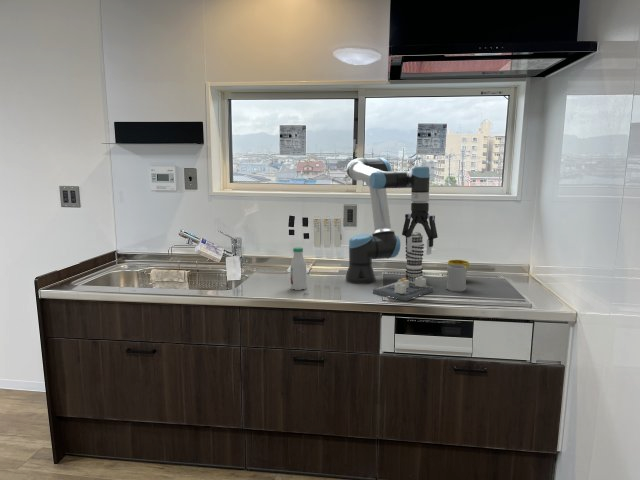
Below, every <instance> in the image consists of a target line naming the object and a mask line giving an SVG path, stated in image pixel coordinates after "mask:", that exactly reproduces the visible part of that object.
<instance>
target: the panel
mask: <svg viewBox="0 0 640 480" xmlns="http://www.w3.org/2000/svg"><path fill="white" fill-rule="evenodd" d="M397 283H398V281H396V282H393V283H390V284H386V285H383V286H379V287H377V288H374V289H372V294H374V295H378V296H381V297H386V296H390V297H394V298H397V299H396V300H399V301H405V302H407V301H410V300H412V299H411V298H413V297H416V296H419V295H421V296H423V295H422V294H424V295H426V293H427V294H430V293H432V292H434V286H430V285H426V286H424V287H419V286H415V283H410V282H409V288H406V293H404V294H400V293H395V284H397ZM429 292H430V293H429ZM390 297H389V298H390ZM419 297H420V296H419ZM394 298H393V299H394ZM416 298H417V297H416ZM413 299H414V298H413Z"/></svg>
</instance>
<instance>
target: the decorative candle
mask: <svg viewBox="0 0 640 480" xmlns="http://www.w3.org/2000/svg"><path fill="white" fill-rule="evenodd" d="M410 237H412V251H411V252H407V244H406V243H405V253H406V254H405V259H406V266H405V273H406V274H405V278H406V280H409V282H410V283H415V278H418V277H420V276H423V277H424V275H423V270H424V268H423V260H424V258H423V256H424V249H425V247H424V246H425V244H424V243H423V237H424V236H423V235H422V233H421V232H418V231H415V232H414V231H413V232H412V234H411V236H410Z"/></svg>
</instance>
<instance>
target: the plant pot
mask: <svg viewBox="0 0 640 480" xmlns="http://www.w3.org/2000/svg"><path fill="white" fill-rule="evenodd" d="M449 265H463V266H466V274H467V273H468V270H469V268H470V261H468V260H464V259H450V260H447V267H448V266H449Z"/></svg>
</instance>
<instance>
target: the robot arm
mask: <svg viewBox="0 0 640 480" xmlns="http://www.w3.org/2000/svg"><path fill="white" fill-rule="evenodd" d="M346 174H347V176H348V177H349V178H350V179H351V180H353V181H362V182H365V184H366V185H365V186H368V187H369V194H370V202H371V211H372V218H373V219H372V220H373V228H374V230H373V233H372V234H370V233H369V234H368V233H365V234H364V233H363V234H356V235H353V236H351V237H350V238H349V240H348V256H349V257H348V261H349V262H348V265H349V266H348V268H347V272H346V274H345V281H346V282H348V283H352V284H370V283H374V282H375V281H376V275H375V273H374V268H373V260H380V259H381V260H382V259H383V260H384V259H392V258H396V257H397V256H398V255H399V252H400V250H401V239H400V237H399V236H398V235H396V234H395V231H394V230H393V229H392V227H391V218H390V217H391V215H390V211H389V202H388V194H387V189H411V195H410V197H411V203H410V204H411V205H410V211H411V213H406V214H404V217H405V219H404V224H403V229H402V232H401V236H404V237H405V245H406V244H407V252H411V251H412V237H410V236H411V234H412V232H414V229H415V227H416V226H417V225H418V224H421V226H422V227H423V229H424V231H425V233H426V236H427V238H428V239H426V255H432V250H433V249H432V248H433V247H434V239H437V238H438V233H437V232H438V231H437V227H436V221H435V219H436V215H430V214H429V209H430V204H429V202H430V177H431V174H430V167H429V166H426V165H425V166H412V168H411V170H405V171H404V170H403V171H401V170H399V171H392V167H391V165H390V162H389V161H388V160H387V159H386V158H384V157H357V158H354V159H352V160H351V161H350V162H349V163H347V167H346Z"/></svg>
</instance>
